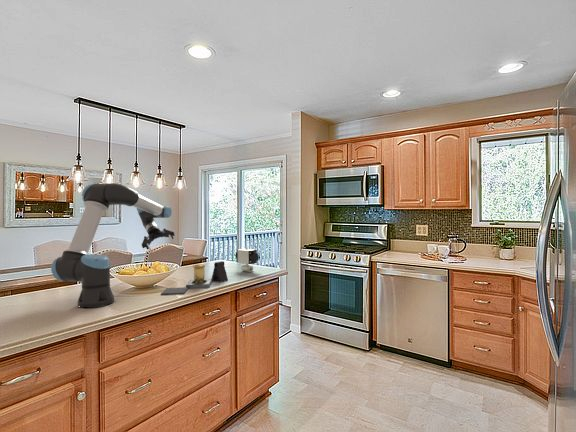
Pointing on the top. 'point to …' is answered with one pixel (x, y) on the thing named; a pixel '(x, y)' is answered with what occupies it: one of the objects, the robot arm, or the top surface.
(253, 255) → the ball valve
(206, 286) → the housing
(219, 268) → the phone stand
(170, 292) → the mat
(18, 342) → the top surface
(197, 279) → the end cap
